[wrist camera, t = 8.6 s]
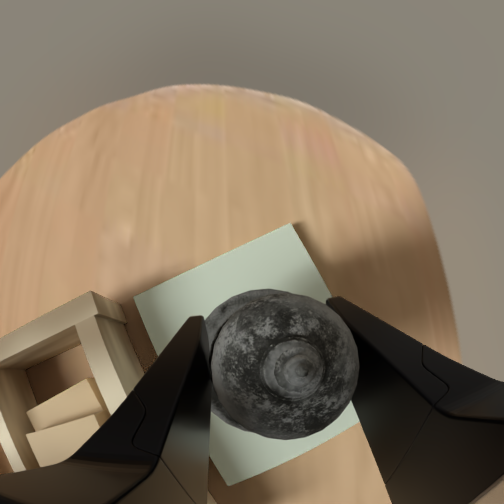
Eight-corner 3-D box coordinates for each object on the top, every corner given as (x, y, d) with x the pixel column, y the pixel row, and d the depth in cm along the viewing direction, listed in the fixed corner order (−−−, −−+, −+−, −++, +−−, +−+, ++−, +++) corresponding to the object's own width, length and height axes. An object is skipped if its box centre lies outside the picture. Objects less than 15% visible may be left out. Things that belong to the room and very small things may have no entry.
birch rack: (235, 523, 14) (232, 557, 10) (27, 551, 11) (3, 567, 7) (120, 304, 18) (90, 290, 14) (-51, 387, 15) (-83, 386, 11)
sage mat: (382, 401, 16) (387, 403, 15) (228, 481, 15) (228, 486, 14) (288, 228, 19) (290, 222, 19) (137, 299, 18) (133, 297, 17)
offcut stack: (201, 514, 14) (189, 550, 10) (127, 533, 13) (102, 564, 9) (117, 372, 17) (81, 375, 13) (50, 402, 16) (8, 408, 12)
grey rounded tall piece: (305, 291, 16) (411, 152, 5) (332, 400, 15) (495, 463, 3) (192, 316, 16) (73, 217, 5) (218, 428, 14) (150, 568, 3)
